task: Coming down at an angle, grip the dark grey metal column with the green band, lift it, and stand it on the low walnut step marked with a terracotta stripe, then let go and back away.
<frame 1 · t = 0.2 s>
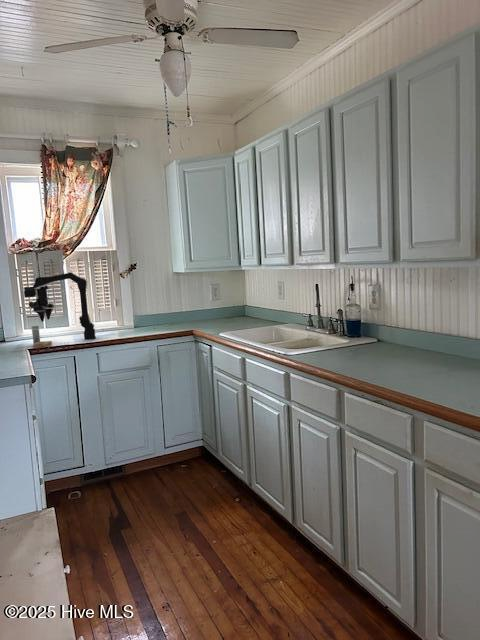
hand: (45, 320, 310), 14 cm above the worktop, fingers open, 9 cm apart
step: (42, 346, 294), on the worktop
column: (37, 345, 301), on the worktop
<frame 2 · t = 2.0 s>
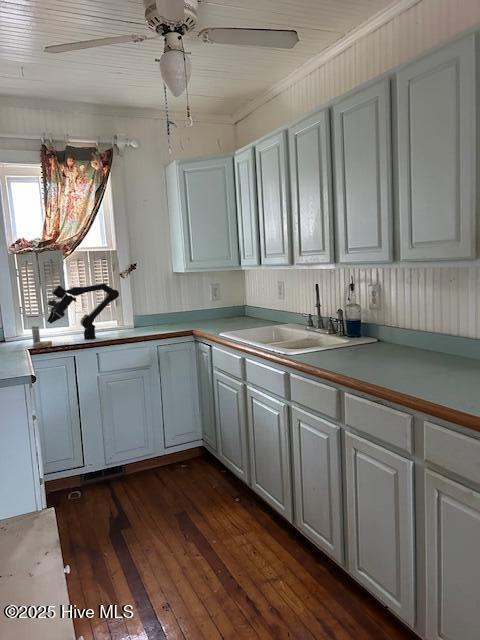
hand: (48, 322, 303), 13 cm above the worktop, fingers open, 9 cm apart
nothing on the worktop moved.
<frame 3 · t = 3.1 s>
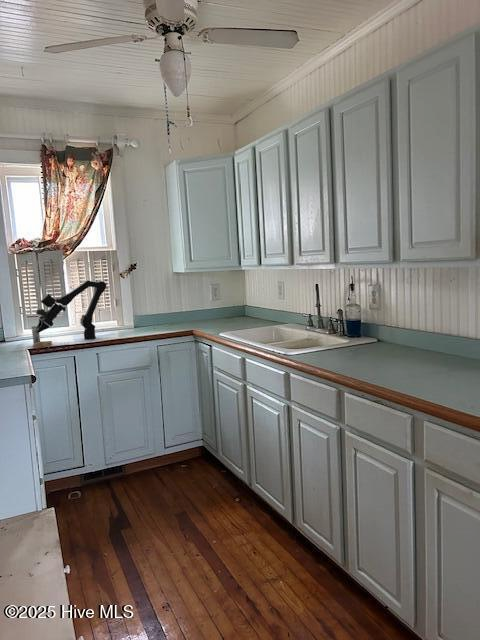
hand: (36, 331, 300), 9 cm above the worktop, fingers open, 9 cm apart
nothing on the worktop moved.
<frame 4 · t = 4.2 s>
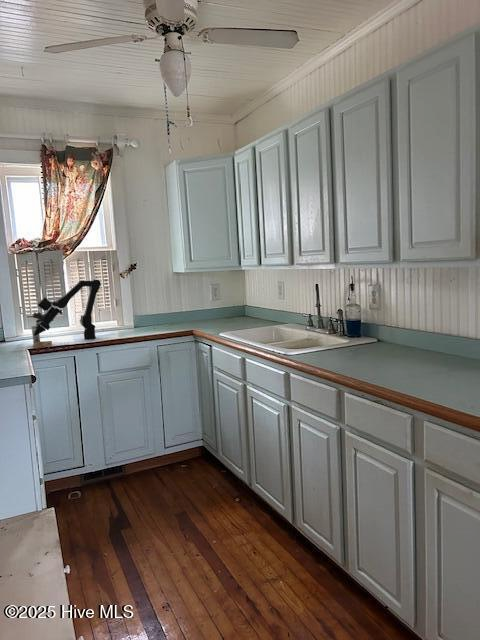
hand: (33, 334, 299), 7 cm above the worktop, fingers closed on column, 4 cm apart
column: (37, 345, 301), on the worktop, touching gripper
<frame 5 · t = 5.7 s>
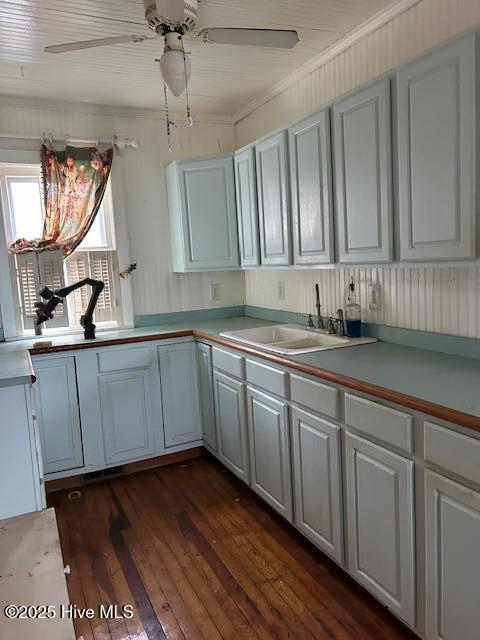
hand: (35, 324, 294), 13 cm above the worktop, fingers closed on column, 4 cm apart
column: (38, 335, 296), point 7 cm above the worktop, touching gripper
when the fingers open (10 cm above the worktop, at t = 7.1 s): column stays where it is, resting on step.
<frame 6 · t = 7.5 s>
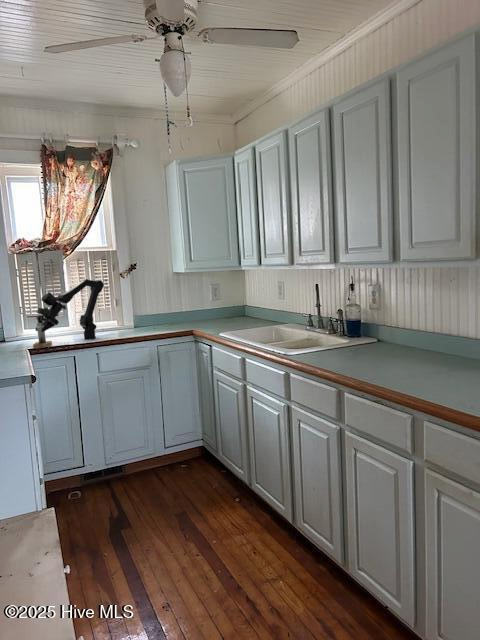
hand: (38, 331, 292), 10 cm above the worktop, fingers open, 8 cm apart
column: (42, 342, 294), point 3 cm above the worktop, touching step
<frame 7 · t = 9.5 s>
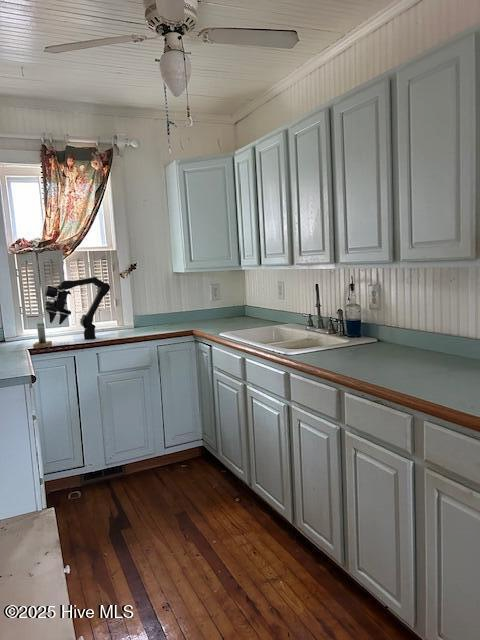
hand: (55, 323, 304), 12 cm above the worktop, fingers open, 9 cm apart
nothing on the worktop moved.
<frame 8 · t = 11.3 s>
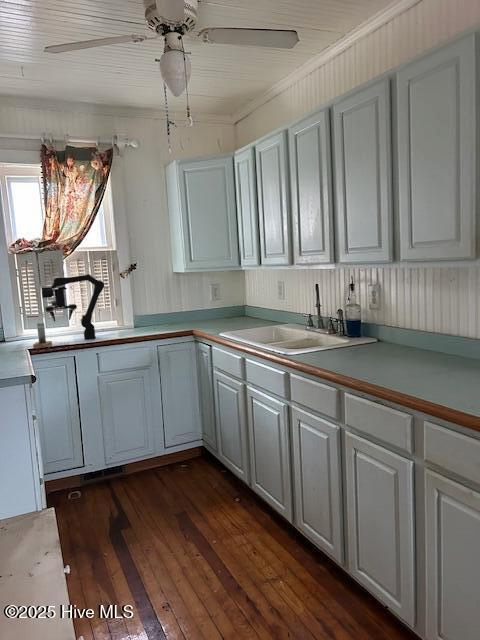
hand: (62, 321, 309), 13 cm above the worktop, fingers open, 9 cm apart
nothing on the worktop moved.
at the end: column inside the target area on the step (0.0 cm from its centre), point 2.5 cm above the step's base; column tilted 0°; the gripper is holding nothing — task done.
